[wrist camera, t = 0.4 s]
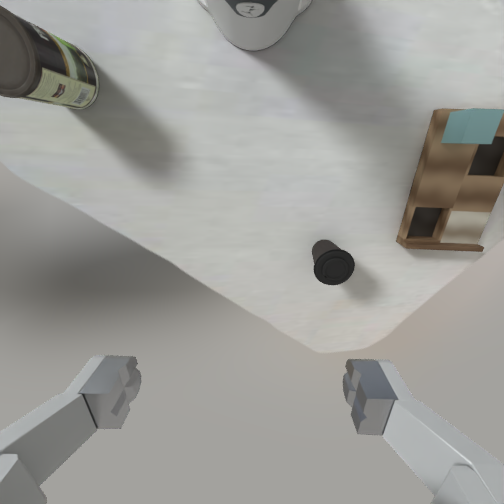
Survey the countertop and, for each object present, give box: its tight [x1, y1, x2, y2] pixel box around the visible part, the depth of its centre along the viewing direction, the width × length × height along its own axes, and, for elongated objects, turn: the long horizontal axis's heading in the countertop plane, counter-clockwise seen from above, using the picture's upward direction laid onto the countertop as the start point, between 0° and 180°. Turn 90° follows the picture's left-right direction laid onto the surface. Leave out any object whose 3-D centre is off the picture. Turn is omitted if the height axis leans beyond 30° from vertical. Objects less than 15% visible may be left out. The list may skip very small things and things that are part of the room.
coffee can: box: [0, 6, 99, 109], centre depth 39 cm, size 10×10×14 cm
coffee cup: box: [312, 240, 355, 285], centre depth 53 cm, size 8×8×10 cm
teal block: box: [441, 108, 504, 144], centre depth 42 cm, size 5×5×5 cm
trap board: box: [396, 109, 504, 252], centre depth 49 cm, size 26×16×4 cm, turn 178°
